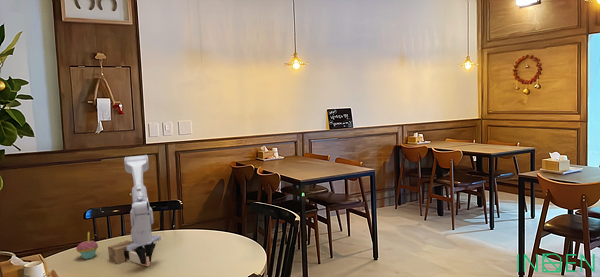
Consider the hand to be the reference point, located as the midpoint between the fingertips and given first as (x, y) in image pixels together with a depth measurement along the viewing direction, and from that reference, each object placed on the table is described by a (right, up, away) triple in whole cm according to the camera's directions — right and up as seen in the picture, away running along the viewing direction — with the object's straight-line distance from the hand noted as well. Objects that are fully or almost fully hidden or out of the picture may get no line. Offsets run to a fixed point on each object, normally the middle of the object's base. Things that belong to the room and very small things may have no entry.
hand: (146, 262), depth 180 cm
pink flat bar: (-4, -1, +3) cm, 5 cm away
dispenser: (-13, -1, +10) cm, 16 cm away
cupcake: (-30, -2, +14) cm, 33 cm away
